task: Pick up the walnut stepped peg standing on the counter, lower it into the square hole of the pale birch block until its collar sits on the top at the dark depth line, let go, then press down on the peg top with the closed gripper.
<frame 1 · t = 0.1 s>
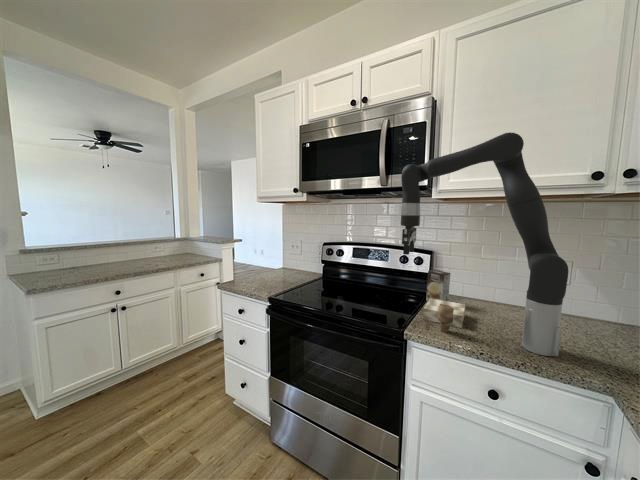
hand: (408, 253, 110), 29 cm above the countertop, fingers open, 8 cm apart
birch block: (444, 317, 116), on the countertop
coffee box: (436, 302, 136), on the countertop
walnut peg: (444, 331, 103), on the countertop
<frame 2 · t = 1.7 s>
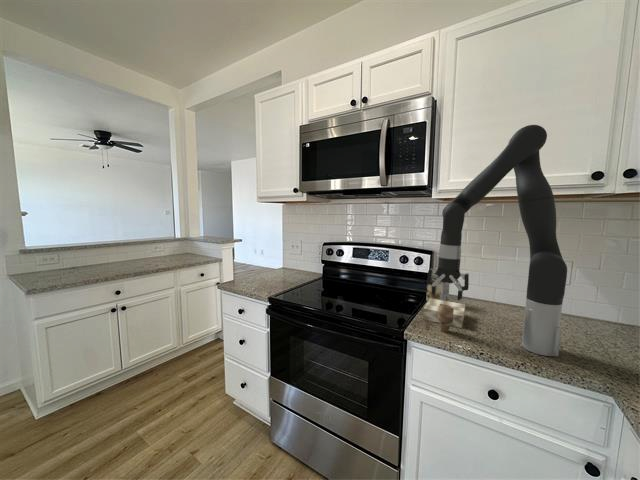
hand: (446, 297, 101), 13 cm above the countertop, fingers open, 8 cm apart
nothing on the countertop moved.
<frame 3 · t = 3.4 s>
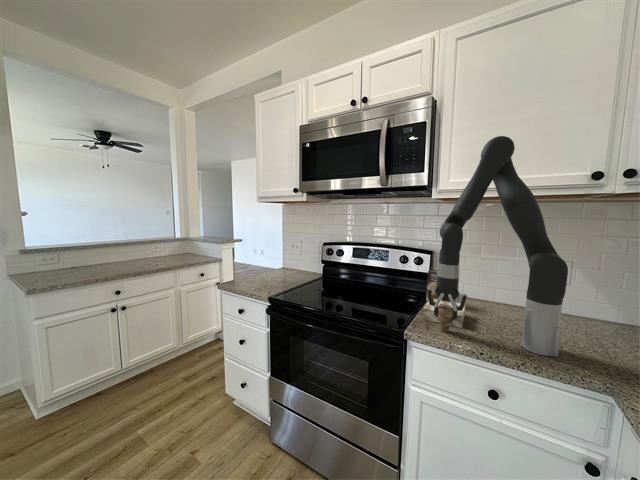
hand: (445, 317, 102), 5 cm above the countertop, fingers closed on walnut peg, 5 cm apart
walnut peg: (444, 331, 103), on the countertop, touching gripper
everything else where it was.
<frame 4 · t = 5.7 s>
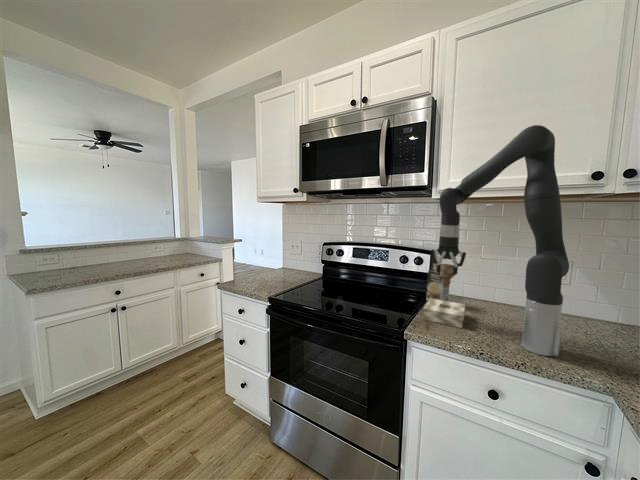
hand: (446, 274, 114), 20 cm above the countertop, fingers closed on walnut peg, 5 cm apart
walnut peg: (445, 286, 114), point 14 cm above the countertop, touching gripper
everything else where it was.
when the fingers open (7 cm above the countertop, at t = 8.0 s): walnut peg stays where it is, resting on birch block.
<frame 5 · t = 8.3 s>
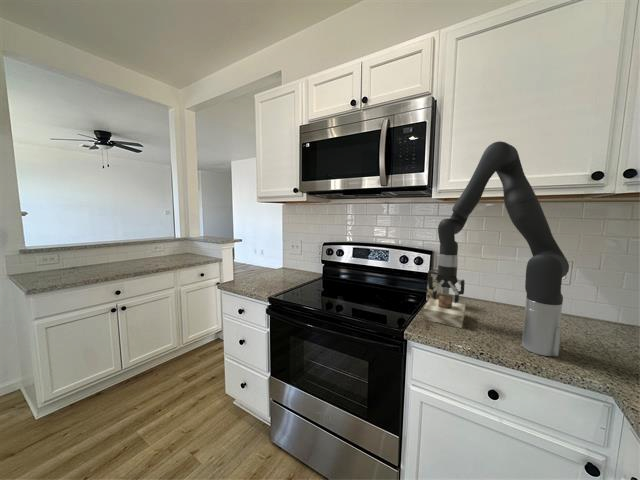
hand: (445, 300, 115), 7 cm above the countertop, fingers open, 7 cm apart
walnut peg: (444, 316, 116), resting on birch block
everything else where it was.
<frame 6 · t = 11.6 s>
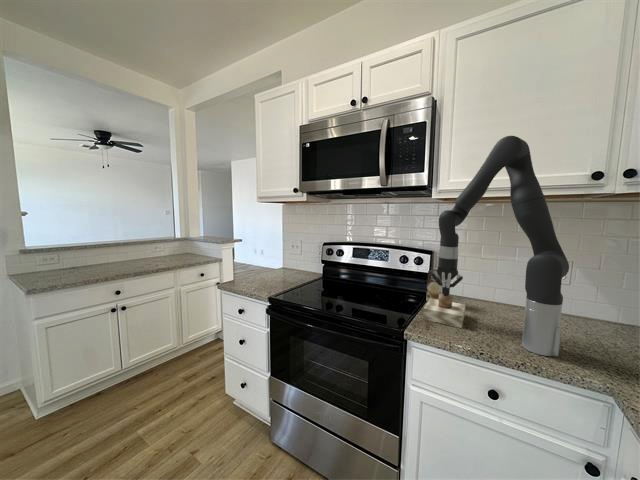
hand: (445, 295, 115), 10 cm above the countertop, fingers closed
walnut peg: (444, 316, 116), resting on birch block, touching gripper
everything else where it was.
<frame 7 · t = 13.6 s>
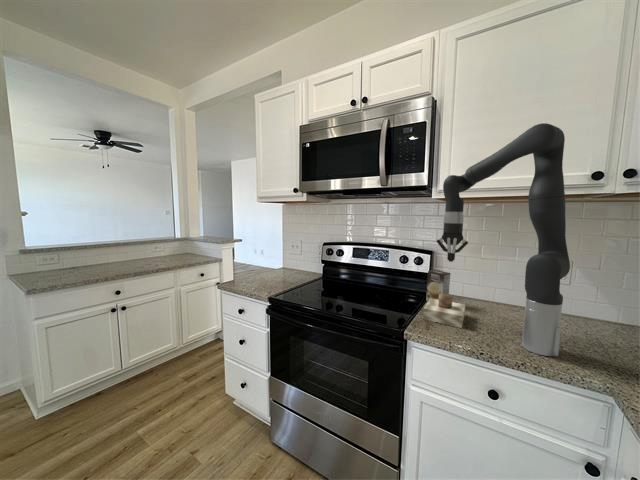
hand: (450, 261, 116), 25 cm above the countertop, fingers closed
walnut peg: (444, 316, 116), resting on birch block
everything else where it was.
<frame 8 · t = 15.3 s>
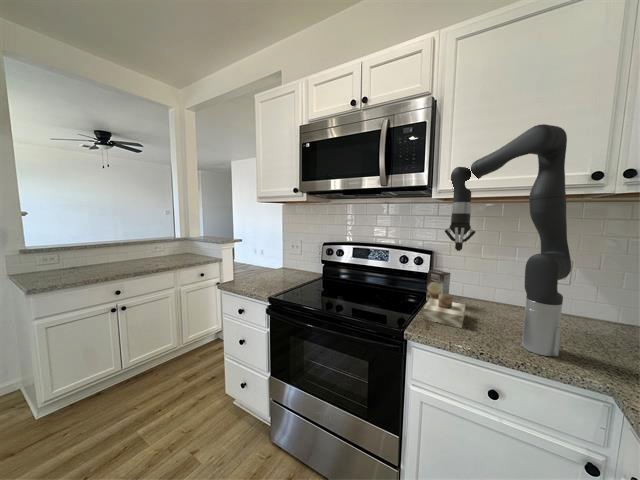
hand: (458, 250, 120), 29 cm above the countertop, fingers closed
nothing on the countertop moved.
at the end: walnut peg 0.0 cm off-centre on the birch block, point 0.5 cm above the birch block's base; walnut peg tilted 0°; the gripper is holding nothing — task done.
